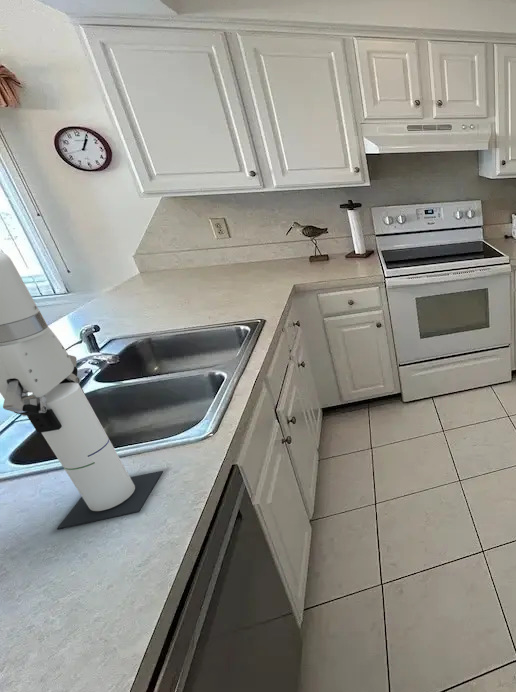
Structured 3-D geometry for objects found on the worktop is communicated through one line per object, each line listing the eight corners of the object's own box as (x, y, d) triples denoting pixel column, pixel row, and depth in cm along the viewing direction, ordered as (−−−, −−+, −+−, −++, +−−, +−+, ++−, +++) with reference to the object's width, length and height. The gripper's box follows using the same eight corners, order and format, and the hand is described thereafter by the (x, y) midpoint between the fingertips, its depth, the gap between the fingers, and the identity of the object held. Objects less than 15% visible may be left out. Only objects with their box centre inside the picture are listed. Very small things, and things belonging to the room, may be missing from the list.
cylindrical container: (142, 489, 84) (87, 387, 74) (100, 516, 79) (34, 410, 68) (123, 478, 87) (67, 379, 76) (81, 503, 81) (14, 400, 70)
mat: (57, 529, 77) (56, 528, 77) (91, 485, 86) (90, 484, 86) (139, 511, 80) (138, 510, 80) (163, 471, 90) (162, 470, 89)
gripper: (22, 311, 73) (69, 393, 81) (-67, 357, 58) (2, 453, 66) (73, 305, 75) (115, 387, 83) (0, 349, 60) (59, 443, 68)
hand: (64, 415), depth 74 cm, fingers closed on cylindrical container, 7 cm apart
